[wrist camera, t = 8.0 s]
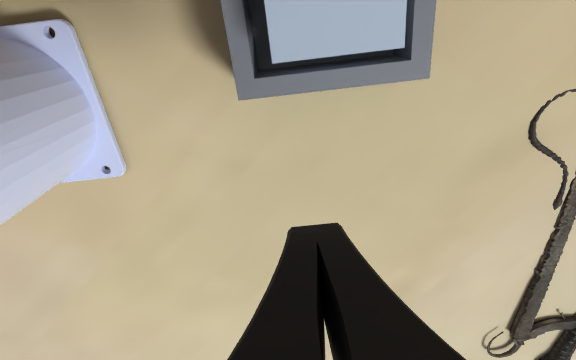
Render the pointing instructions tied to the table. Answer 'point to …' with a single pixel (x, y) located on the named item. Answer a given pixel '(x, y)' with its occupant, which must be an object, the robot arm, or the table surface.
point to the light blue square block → (333, 27)
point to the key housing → (328, 70)
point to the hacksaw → (547, 270)
